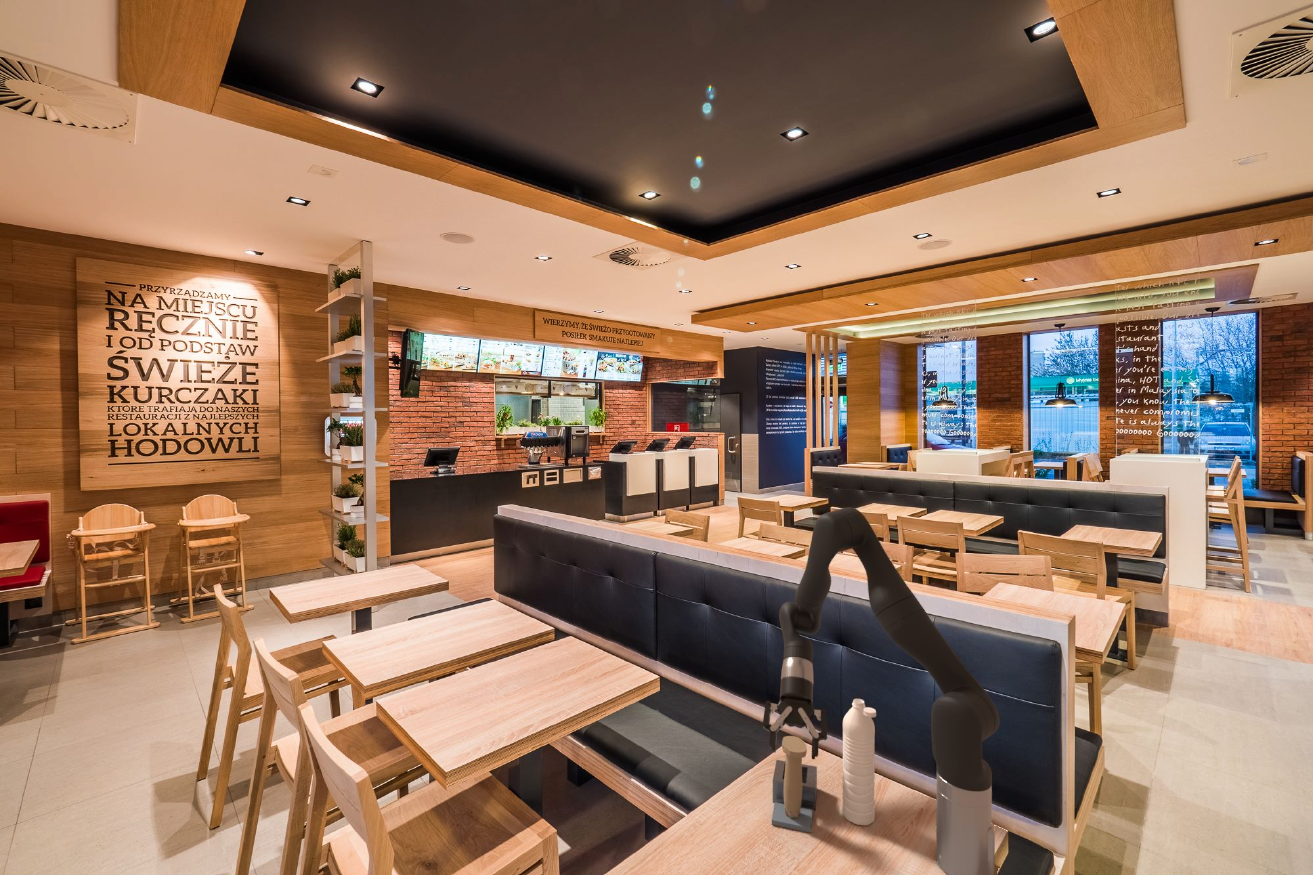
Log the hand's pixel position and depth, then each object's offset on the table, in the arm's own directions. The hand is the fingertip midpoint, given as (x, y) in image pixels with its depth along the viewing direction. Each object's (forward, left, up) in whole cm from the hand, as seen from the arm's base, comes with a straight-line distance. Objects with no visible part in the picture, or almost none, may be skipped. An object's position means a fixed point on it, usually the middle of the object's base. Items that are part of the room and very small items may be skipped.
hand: (793, 754), depth 126 cm
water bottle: (-14, +1, -11) cm, 18 cm away
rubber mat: (0, +5, -11) cm, 12 cm away
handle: (0, +5, -10) cm, 11 cm away
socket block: (0, -3, -11) cm, 12 cm away
